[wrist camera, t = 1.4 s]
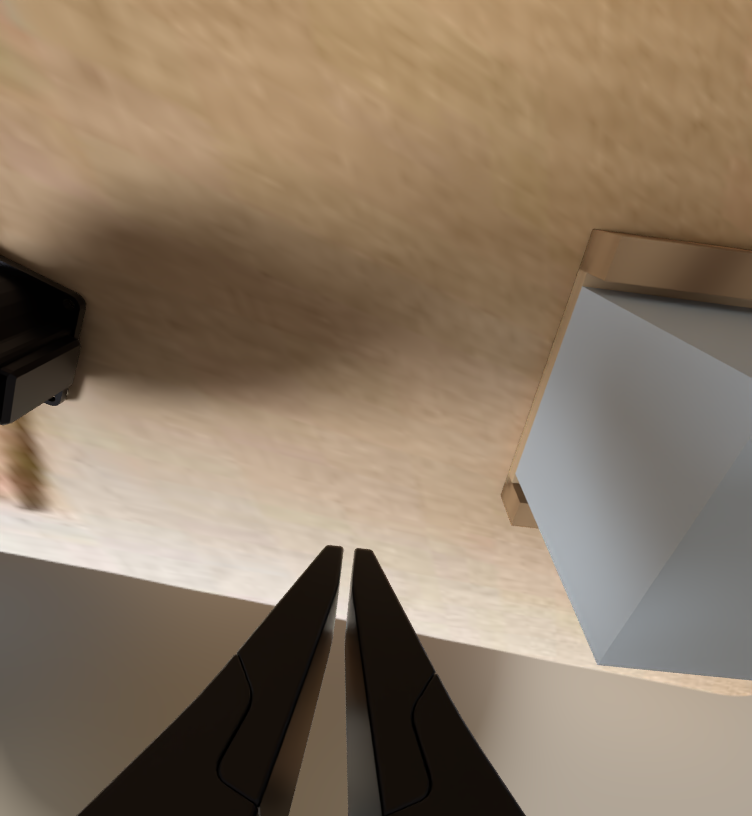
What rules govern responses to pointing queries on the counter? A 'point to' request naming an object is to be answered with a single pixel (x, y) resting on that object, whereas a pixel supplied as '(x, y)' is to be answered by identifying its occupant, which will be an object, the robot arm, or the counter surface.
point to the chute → (644, 274)
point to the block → (650, 480)
